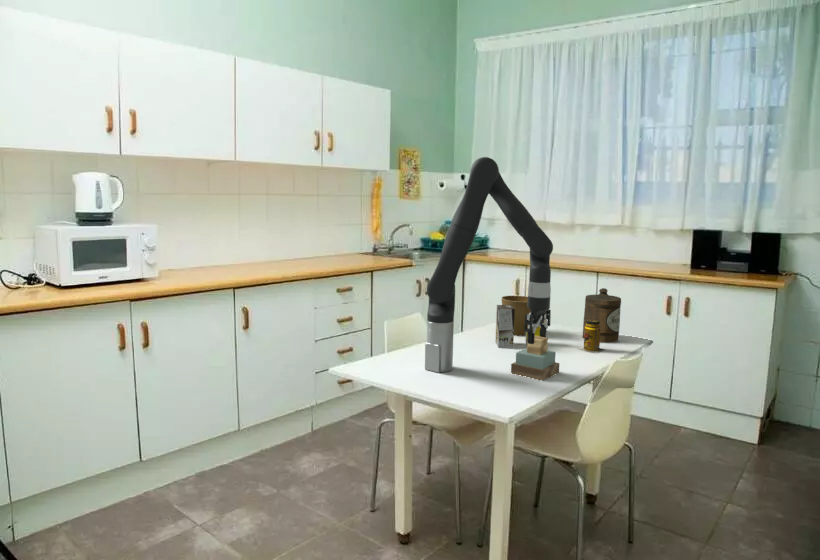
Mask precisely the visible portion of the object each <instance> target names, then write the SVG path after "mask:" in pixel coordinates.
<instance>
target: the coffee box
mask: <svg viewBox="0 0 820 560" xmlns="http://www.w3.org/2000/svg"><path fill="white" fill-rule="evenodd" d="M495 311H496V312H495V313H496V315H495V316H496V317H495V344H496V346H497V348H501V349H504V348H505V349H513V348H514V339H515V338H514V336H515V335H514V319H515V308H514V307H513V306H512V305H502V304H496V310H495Z"/></svg>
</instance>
